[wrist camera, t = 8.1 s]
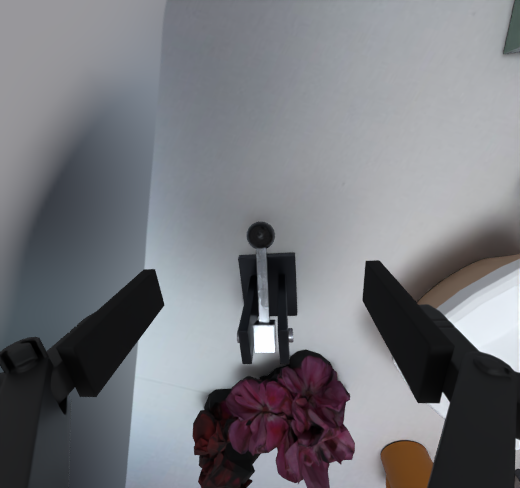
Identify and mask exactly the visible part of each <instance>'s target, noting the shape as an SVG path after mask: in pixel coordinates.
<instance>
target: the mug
mask: <svg viewBox="0 0 520 488" xmlns="http://www.w3.org/2000/svg"><path fill="white" fill-rule="evenodd" d="M381 460H382V463H383V466H384V469H385V472H386V488H427V485H428V481H429V478H430V474H431V470H432V467H433V462H432V460H431V458H430V456H429V454H428V452H427V450H426V448H425V447H424V446H422V445H421V444H419V443H416V442H411V441H400V442H396V443H393V444H391V445H389V446H387V447H386V448H385V449H383V451H382V453H381Z"/></svg>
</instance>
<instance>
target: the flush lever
mask: <svg viewBox="0 0 520 488" xmlns="http://www.w3.org/2000/svg"><path fill="white" fill-rule="evenodd" d="M274 239H275V232H274V229H273V228H272V226H271V225H269V224H268V223H266V222H256V223H254V224H252V225H251V226H250V227H249V229H248V231H247V240H248V242H249V244H250V245H251V246H252V247H253V248H255V249H256V259H257V283H258V307H259V320H256V322H255V323H254V325H253V330H254V353H275V351H276V329H275V320H270V313H269V291H268V269H267V248H268V247H270V246H271V245H272V244H273V242H274Z"/></svg>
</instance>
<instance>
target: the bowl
mask: <svg viewBox="0 0 520 488" xmlns="http://www.w3.org/2000/svg"><path fill="white" fill-rule="evenodd" d="M417 304H418V305H421V304H429V305H430V306H432V307H434V308H436V309H437V310H439V311H440V312H441V313H442V314H443V315H444V316H445V317H446V318H447V319H448V321H450V322H451V323H452V324H453V325H454V326H455V328H457V329H458V330H459V331H460V332H461V333H462V334H463V335H464V336H465V337H466V338H467V339H468V340H469V341H470V342H471V343H472V344H473V345H474V346H475V347H476V348H477V349H478V350H479V351H480V352H483V353H487V354H490V355H493V356H495V357H497V358H499V359H501V360H502V361H504V362H505V363H507V364H508V365H510V367H511V368H512V369H513V370H514V371H515V372H519V373H520V254H518V255H510V256H501V257H493V258H485V259H482V260H479V261H477V262H475V263H473V264H470V265H468V266H466V267H464V268H462V269H461V270H459V271H457V272H456V273H454V274H452V275H451V276H449V277H447V278H446V279H444V280H442V281H441V282H440V283H439V284H437V285H436V286H435V287H434V288H432V289H431V290H430V291H429V292H427V293H426V294H425V295H424V296H423V297H422V298H421V299H420V300H419V301H418V302H417ZM392 359H393V362H394V364H395V366H396V367H397V369H398V371H399V372H400V374H401V376H402V377H403V379H404V380H405V378H404V376H403V375H402V373H401V371H400V369H399V367H398V365H397V363H396V362H395V360H394V358H393V356H392ZM405 382H406V380H405ZM406 384H407V382H406ZM407 385H408V384H407ZM408 387H409V386H408ZM426 404H428V405H429V406H430V407H431V408H432V409H433V410H434V411H435V412H437V413H438V414H439V415H440V416H441V417H442V418H444V419H445V418H446V415H447V411H448V408H449V405H450V402H449V400H448V399H447V397H446V396H445V394H444V393H442V396H441V400H440V403H426ZM518 449H520V440H518V439H516V448H515V450H518Z"/></svg>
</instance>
